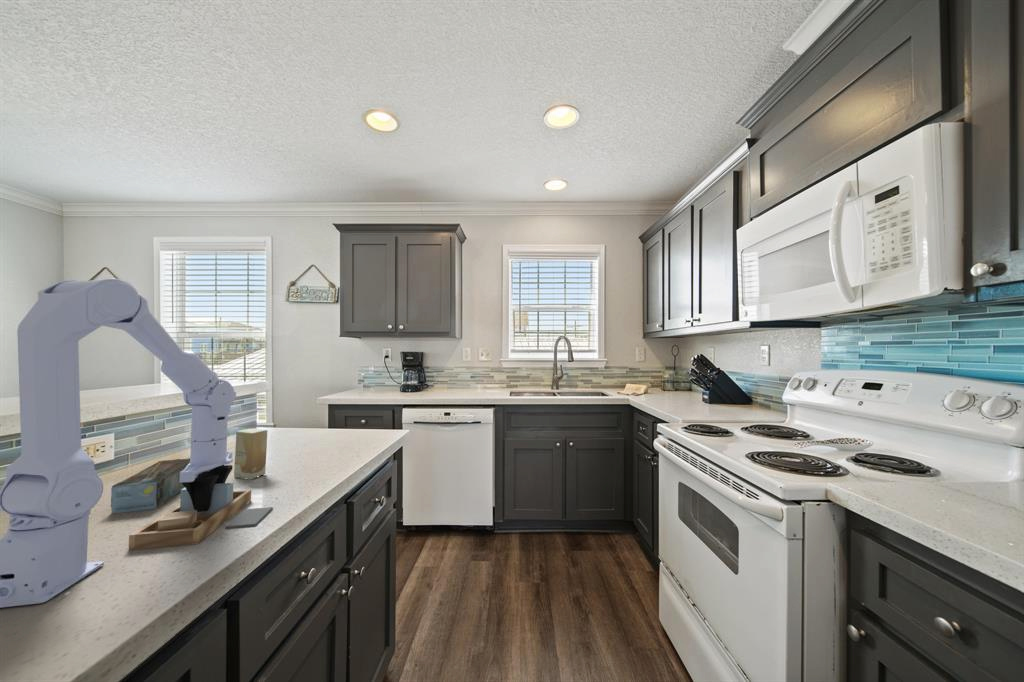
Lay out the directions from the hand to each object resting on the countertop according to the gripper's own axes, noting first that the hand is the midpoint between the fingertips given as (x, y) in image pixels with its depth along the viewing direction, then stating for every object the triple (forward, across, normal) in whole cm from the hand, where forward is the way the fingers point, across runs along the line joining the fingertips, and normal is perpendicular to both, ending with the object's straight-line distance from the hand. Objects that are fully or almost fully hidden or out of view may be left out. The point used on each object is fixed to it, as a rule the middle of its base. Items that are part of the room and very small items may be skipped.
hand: (207, 507), depth 76 cm
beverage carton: (+2, +15, +18) cm, 23 cm away
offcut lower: (+2, -9, 0) cm, 9 cm away
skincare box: (+2, +26, +3) cm, 26 cm away
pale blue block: (+2, 0, 0) cm, 2 cm away
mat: (+2, -3, -9) cm, 10 cm away
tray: (+2, -3, 0) cm, 3 cm away
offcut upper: (0, -9, 0) cm, 9 cm away
